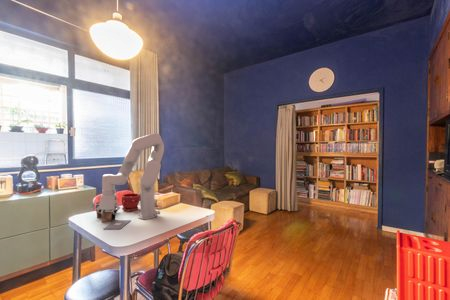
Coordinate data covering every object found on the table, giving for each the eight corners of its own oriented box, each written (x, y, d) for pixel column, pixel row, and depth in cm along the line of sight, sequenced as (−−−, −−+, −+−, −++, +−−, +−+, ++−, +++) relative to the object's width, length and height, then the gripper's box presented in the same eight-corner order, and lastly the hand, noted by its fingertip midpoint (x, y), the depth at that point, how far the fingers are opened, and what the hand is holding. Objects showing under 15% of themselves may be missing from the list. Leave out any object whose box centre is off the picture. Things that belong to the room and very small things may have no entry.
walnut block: (115, 219, 148) (115, 210, 148) (110, 222, 142) (110, 213, 142) (106, 219, 148) (106, 210, 148) (101, 222, 142) (101, 213, 142)
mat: (130, 221, 145) (130, 220, 145) (120, 229, 130) (120, 228, 130) (115, 221, 144) (115, 220, 144) (103, 229, 129) (103, 228, 129)
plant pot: (124, 213, 162) (124, 197, 162) (119, 209, 171) (119, 194, 171) (142, 210, 171) (142, 195, 170) (136, 206, 180) (136, 192, 180)
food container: (109, 212, 163) (109, 199, 162) (113, 214, 159) (113, 200, 159) (91, 217, 152) (91, 203, 152) (95, 218, 149) (95, 204, 149)
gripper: (123, 191, 149) (123, 217, 149) (98, 191, 148) (98, 217, 148) (118, 193, 141) (118, 221, 141) (92, 193, 141) (92, 221, 141)
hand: (108, 219), depth 145 cm, fingers closed on walnut block, 6 cm apart
